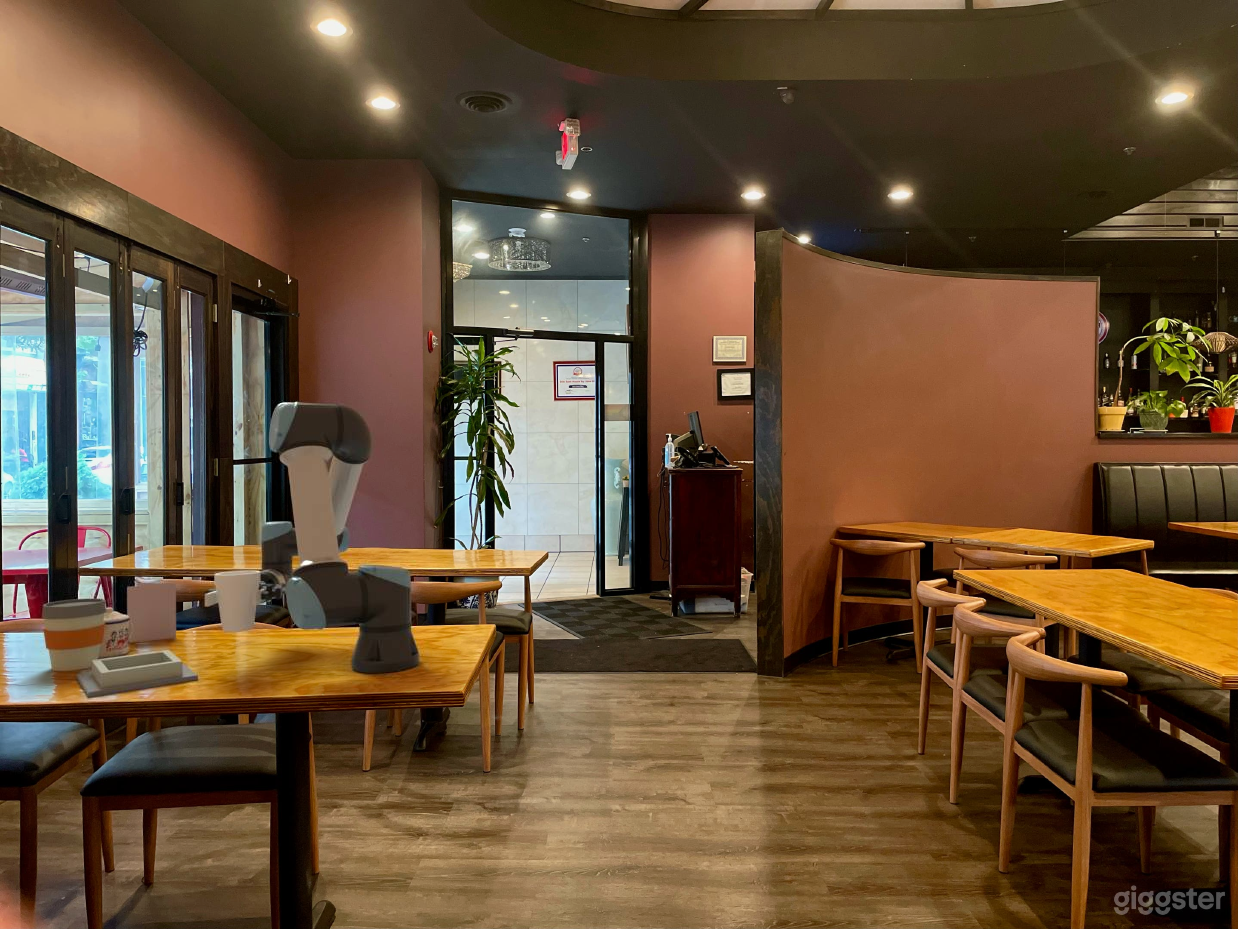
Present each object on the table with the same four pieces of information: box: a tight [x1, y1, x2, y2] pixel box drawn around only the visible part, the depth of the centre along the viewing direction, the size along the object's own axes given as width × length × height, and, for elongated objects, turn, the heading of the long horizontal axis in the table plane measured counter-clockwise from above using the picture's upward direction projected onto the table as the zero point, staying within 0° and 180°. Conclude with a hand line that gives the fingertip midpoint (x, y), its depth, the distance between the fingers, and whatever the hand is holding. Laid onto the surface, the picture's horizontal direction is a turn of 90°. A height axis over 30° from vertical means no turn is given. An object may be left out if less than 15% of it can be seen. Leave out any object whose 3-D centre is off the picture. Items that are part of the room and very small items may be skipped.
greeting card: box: [126, 582, 177, 643], centre depth 215 cm, size 11×7×15 cm, turn 82°
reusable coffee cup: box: [41, 598, 107, 672], centre depth 186 cm, size 12×13×15 cm
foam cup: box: [213, 569, 261, 633], centre depth 181 cm, size 10×9×13 cm
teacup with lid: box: [98, 607, 133, 659], centre depth 200 cm, size 12×9×12 cm
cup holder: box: [76, 649, 199, 698], centre depth 174 cm, size 20×20×4 cm
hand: (230, 599), depth 176 cm, fingers closed on foam cup, 9 cm apart
